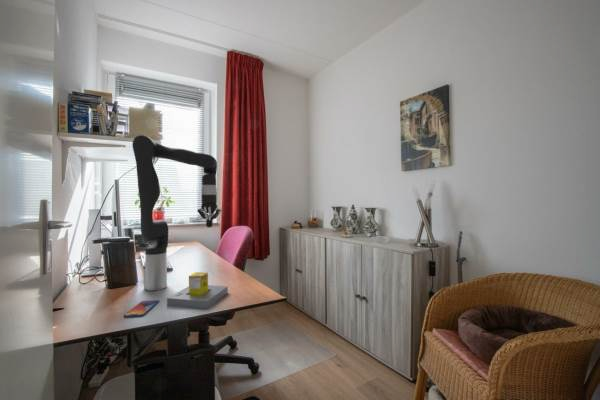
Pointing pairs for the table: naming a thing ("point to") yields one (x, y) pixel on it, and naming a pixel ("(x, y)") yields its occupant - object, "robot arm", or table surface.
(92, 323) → the table surface
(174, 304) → the socket plate
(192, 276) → the supplement box
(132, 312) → the smartphone
